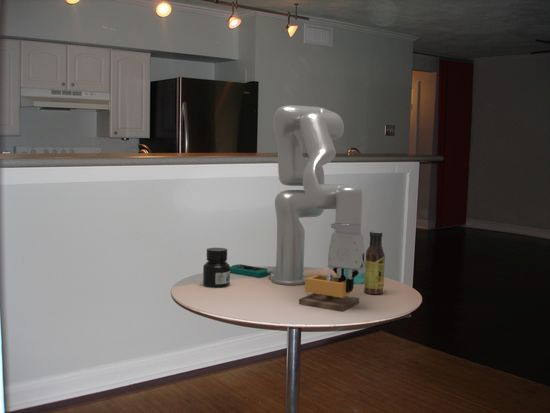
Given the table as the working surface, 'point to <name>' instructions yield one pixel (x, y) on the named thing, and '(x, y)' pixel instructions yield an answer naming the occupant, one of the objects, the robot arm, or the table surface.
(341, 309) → the plate
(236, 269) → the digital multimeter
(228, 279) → the ink bottle
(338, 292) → the link
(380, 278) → the sauce bottle
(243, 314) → the table surface
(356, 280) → the decorative dice
